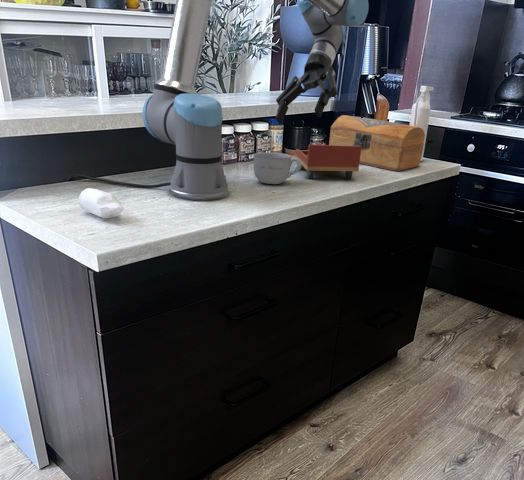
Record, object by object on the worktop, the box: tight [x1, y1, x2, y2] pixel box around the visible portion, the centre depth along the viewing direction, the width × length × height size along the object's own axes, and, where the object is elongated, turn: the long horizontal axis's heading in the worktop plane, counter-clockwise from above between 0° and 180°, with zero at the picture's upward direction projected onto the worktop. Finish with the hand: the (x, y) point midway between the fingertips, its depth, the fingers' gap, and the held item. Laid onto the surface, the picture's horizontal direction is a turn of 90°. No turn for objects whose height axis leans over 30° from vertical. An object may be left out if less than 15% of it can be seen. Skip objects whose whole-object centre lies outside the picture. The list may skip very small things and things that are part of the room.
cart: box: [294, 144, 362, 180], centre depth 165 cm, size 16×19×10 cm
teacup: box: [253, 152, 301, 185], centre depth 151 cm, size 14×11×8 cm
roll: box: [78, 187, 125, 219], centre depth 116 cm, size 6×12×6 cm, turn 48°
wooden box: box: [328, 114, 425, 172], centre depth 185 cm, size 30×16×14 cm, turn 47°
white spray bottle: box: [409, 85, 435, 162], centre depth 188 cm, size 7×12×25 cm, turn 140°
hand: (297, 117), depth 151 cm, fingers open, 13 cm apart
